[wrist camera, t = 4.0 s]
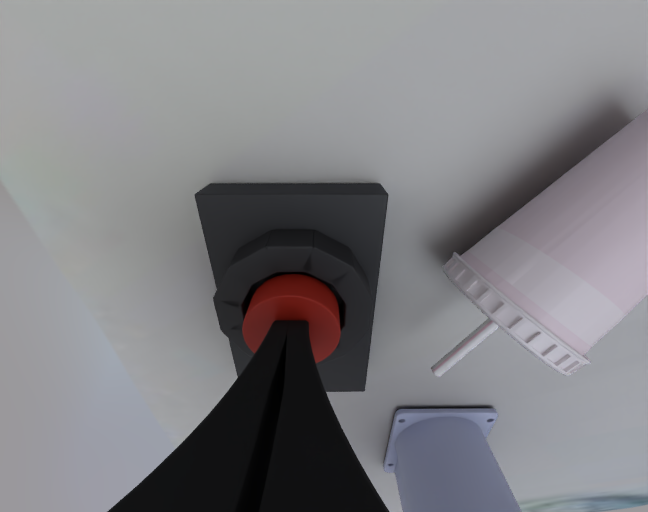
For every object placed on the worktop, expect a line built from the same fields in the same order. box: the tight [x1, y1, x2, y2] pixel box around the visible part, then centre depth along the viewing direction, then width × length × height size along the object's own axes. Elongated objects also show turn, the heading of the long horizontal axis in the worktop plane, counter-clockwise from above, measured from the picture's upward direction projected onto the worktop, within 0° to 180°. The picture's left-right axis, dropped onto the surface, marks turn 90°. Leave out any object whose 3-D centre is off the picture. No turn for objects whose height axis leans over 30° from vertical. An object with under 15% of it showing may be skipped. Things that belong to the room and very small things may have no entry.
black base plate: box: [195, 184, 388, 392], centre depth 14 cm, size 13×8×4 cm, turn 0°
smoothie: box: [431, 109, 648, 377], centre depth 11 cm, size 6×6×14 cm
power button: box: [242, 274, 341, 363], centre depth 12 cm, size 4×4×2 cm
